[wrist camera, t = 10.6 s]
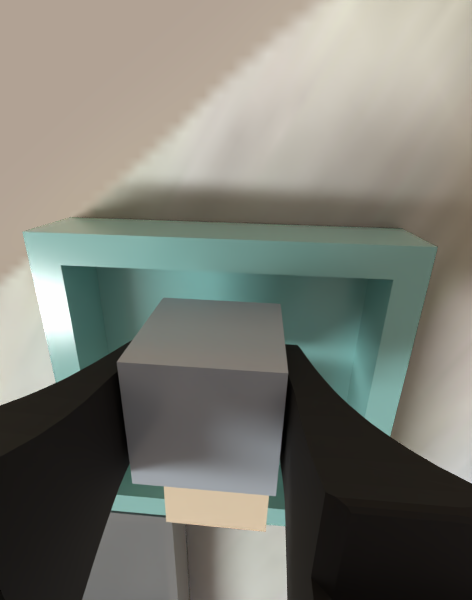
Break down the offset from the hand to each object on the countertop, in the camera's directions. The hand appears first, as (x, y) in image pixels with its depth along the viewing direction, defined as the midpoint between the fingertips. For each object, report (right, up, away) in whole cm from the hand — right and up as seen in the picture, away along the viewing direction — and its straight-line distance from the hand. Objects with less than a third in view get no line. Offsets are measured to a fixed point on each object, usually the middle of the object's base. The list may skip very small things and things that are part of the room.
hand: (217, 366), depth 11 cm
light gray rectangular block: (0, 0, +1) cm, 1 cm away
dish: (0, -1, +5) cm, 5 cm away
